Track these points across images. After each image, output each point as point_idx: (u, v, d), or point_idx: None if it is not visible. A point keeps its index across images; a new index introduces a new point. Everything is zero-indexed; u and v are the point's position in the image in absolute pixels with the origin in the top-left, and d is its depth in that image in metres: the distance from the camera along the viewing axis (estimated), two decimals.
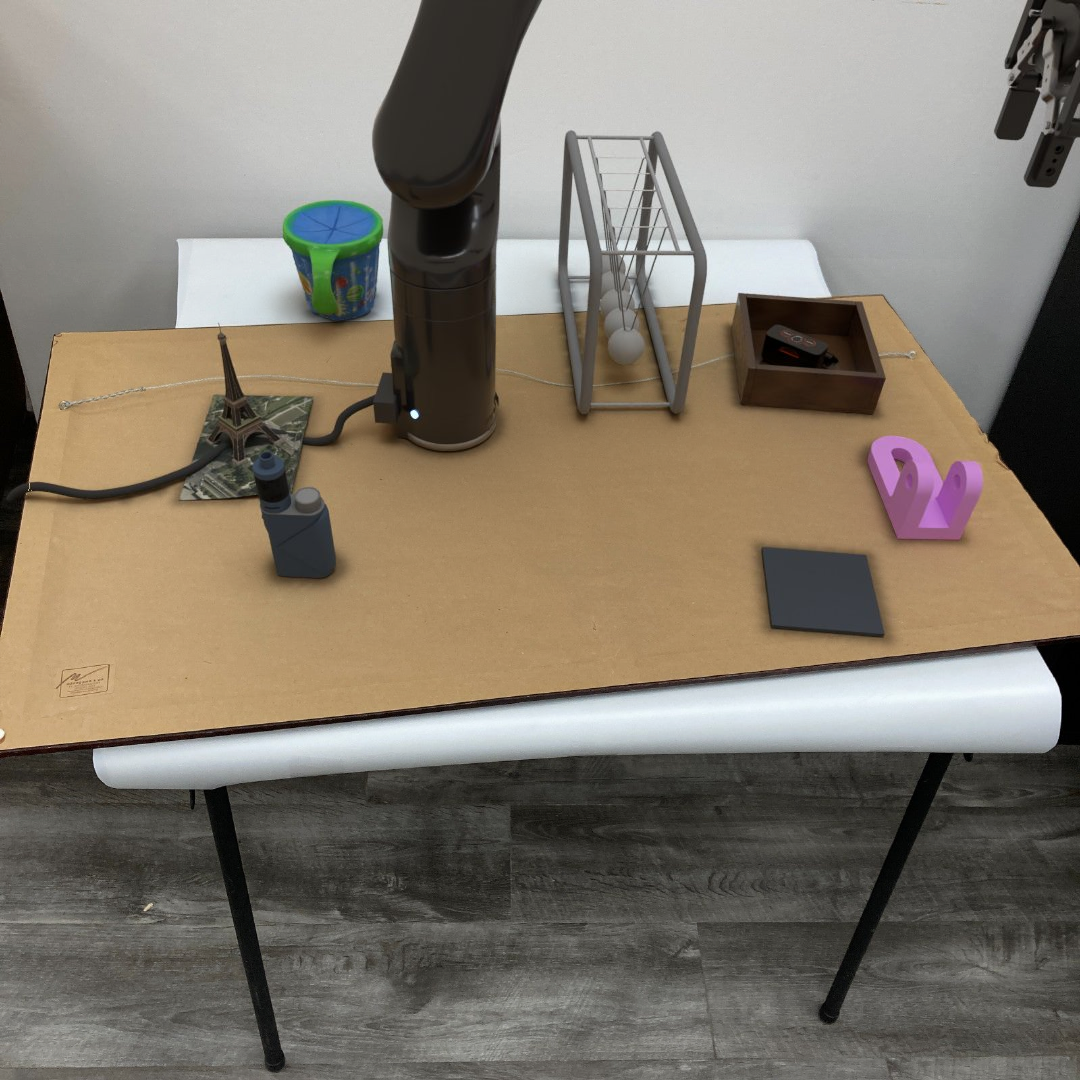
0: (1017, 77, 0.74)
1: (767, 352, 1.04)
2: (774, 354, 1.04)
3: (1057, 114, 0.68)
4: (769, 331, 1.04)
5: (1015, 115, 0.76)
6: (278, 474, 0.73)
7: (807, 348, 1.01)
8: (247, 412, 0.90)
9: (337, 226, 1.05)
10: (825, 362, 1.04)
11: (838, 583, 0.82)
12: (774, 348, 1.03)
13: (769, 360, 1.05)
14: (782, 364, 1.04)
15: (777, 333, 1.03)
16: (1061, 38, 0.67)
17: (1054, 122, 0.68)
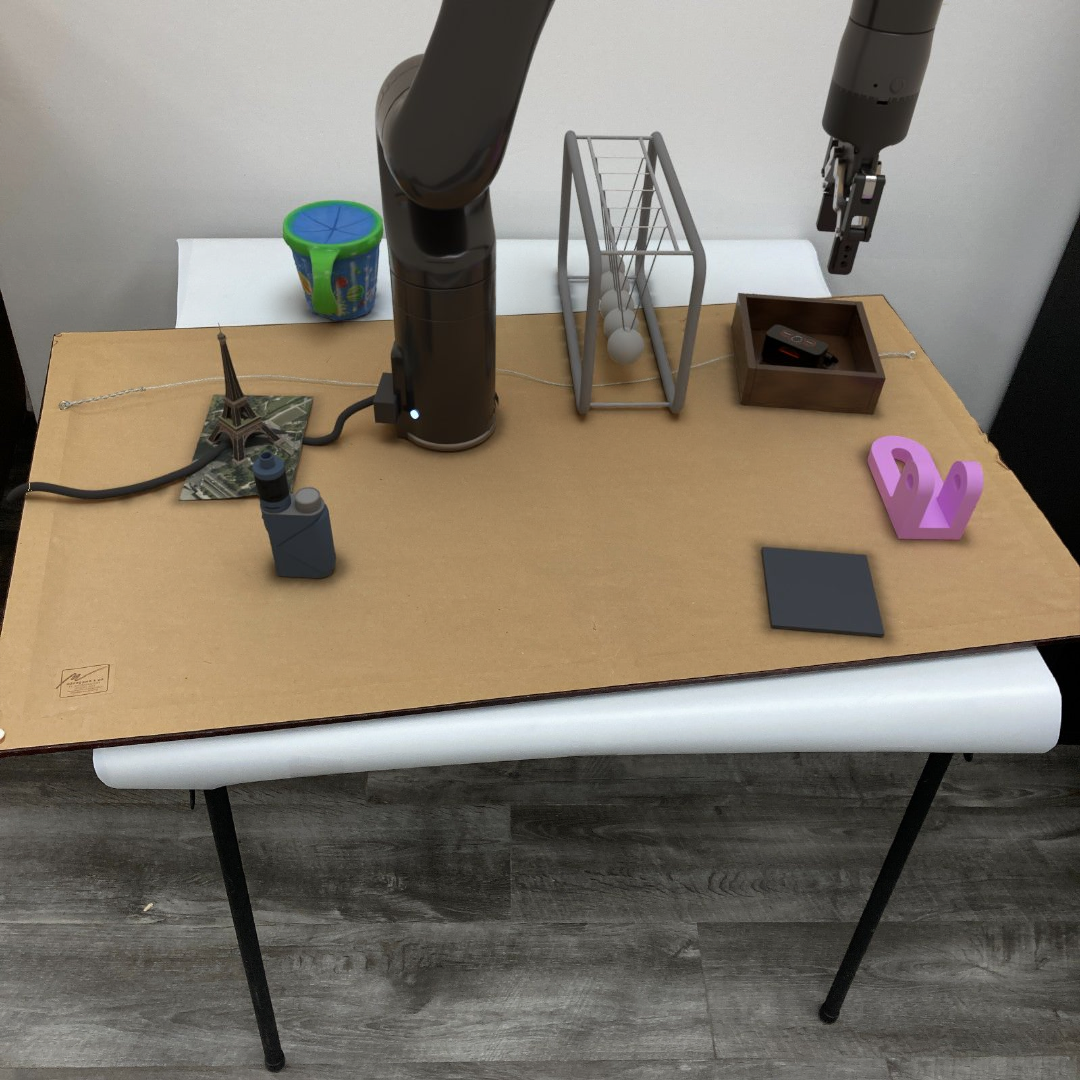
0: (827, 186, 0.95)
1: (767, 352, 1.04)
2: (774, 354, 1.04)
3: None
4: (769, 331, 1.04)
5: (830, 213, 0.97)
6: (278, 474, 0.73)
7: (807, 348, 1.01)
8: (247, 412, 0.90)
9: (337, 226, 1.05)
10: (825, 362, 1.04)
11: (838, 583, 0.82)
12: (774, 348, 1.03)
13: (769, 360, 1.05)
14: (782, 364, 1.04)
15: (777, 333, 1.03)
16: (844, 165, 0.88)
17: (841, 228, 0.88)
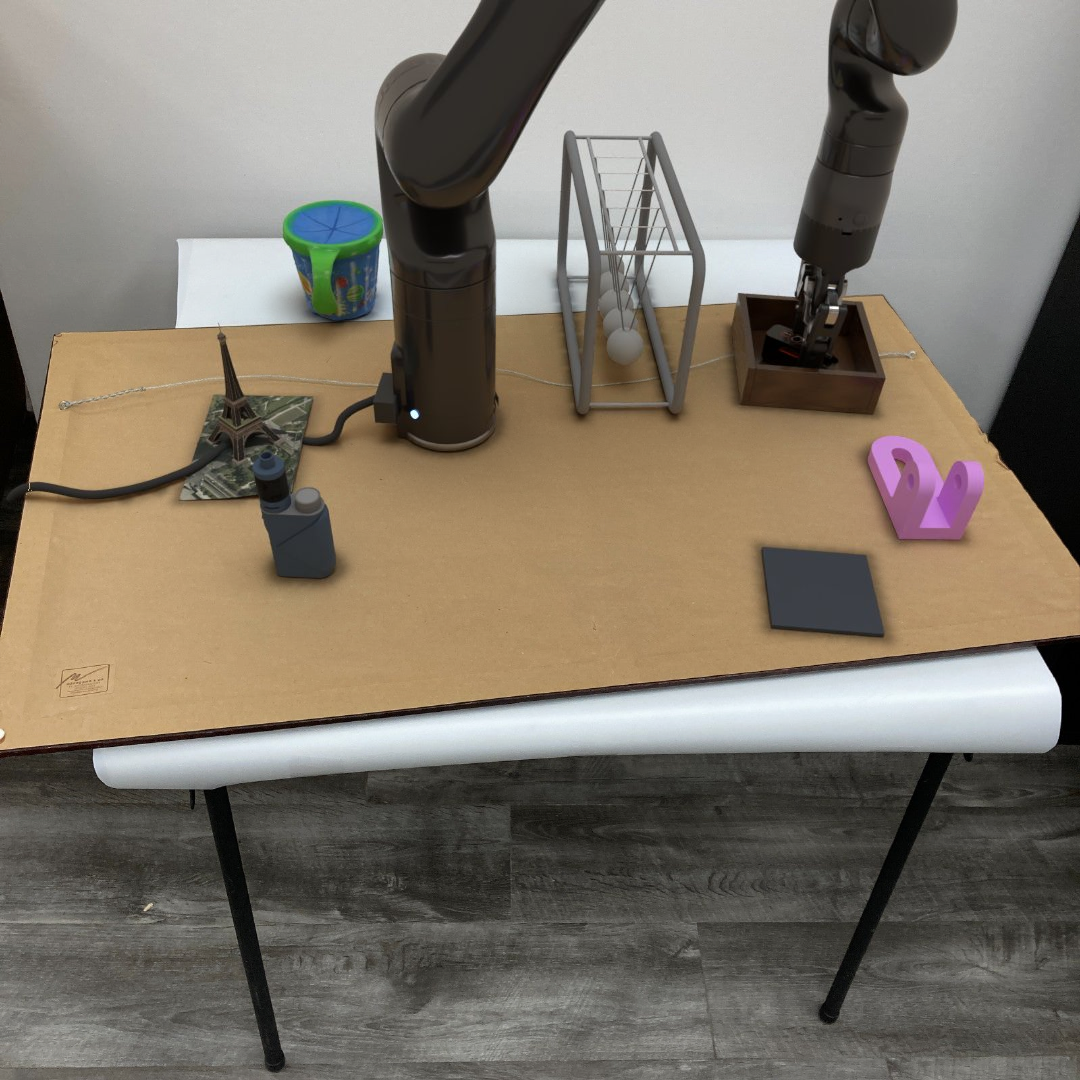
0: (799, 306, 1.02)
1: (767, 352, 1.04)
2: (774, 354, 1.04)
3: (809, 336, 0.98)
4: (769, 331, 1.04)
5: (802, 332, 1.04)
6: (278, 474, 0.73)
7: None
8: (247, 412, 0.90)
9: (337, 226, 1.05)
10: (825, 362, 1.04)
11: (838, 583, 0.82)
12: (774, 348, 1.03)
13: (769, 360, 1.05)
14: (782, 364, 1.04)
15: (777, 333, 1.03)
16: (814, 283, 0.96)
17: (807, 339, 0.98)
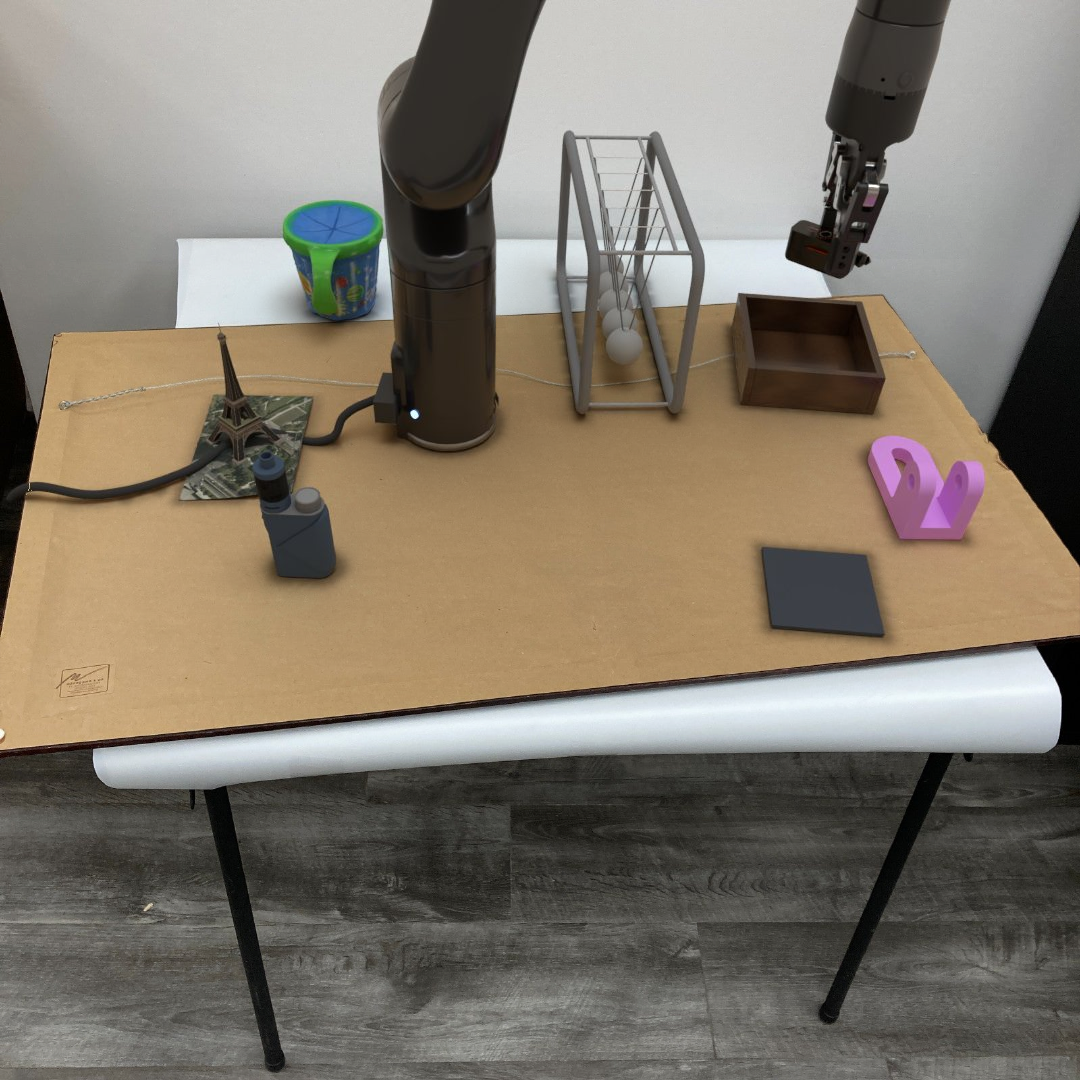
0: (829, 197, 0.91)
1: (791, 251, 0.93)
2: (800, 252, 0.93)
3: (842, 225, 0.87)
4: (794, 226, 0.92)
5: (831, 228, 0.93)
6: (278, 474, 0.73)
7: None
8: (247, 412, 0.90)
9: (337, 226, 1.05)
10: (856, 262, 0.93)
11: (838, 583, 0.82)
12: (800, 245, 0.92)
13: (794, 260, 0.93)
14: (809, 263, 0.93)
15: (804, 228, 0.92)
16: (848, 163, 0.85)
17: (839, 229, 0.87)
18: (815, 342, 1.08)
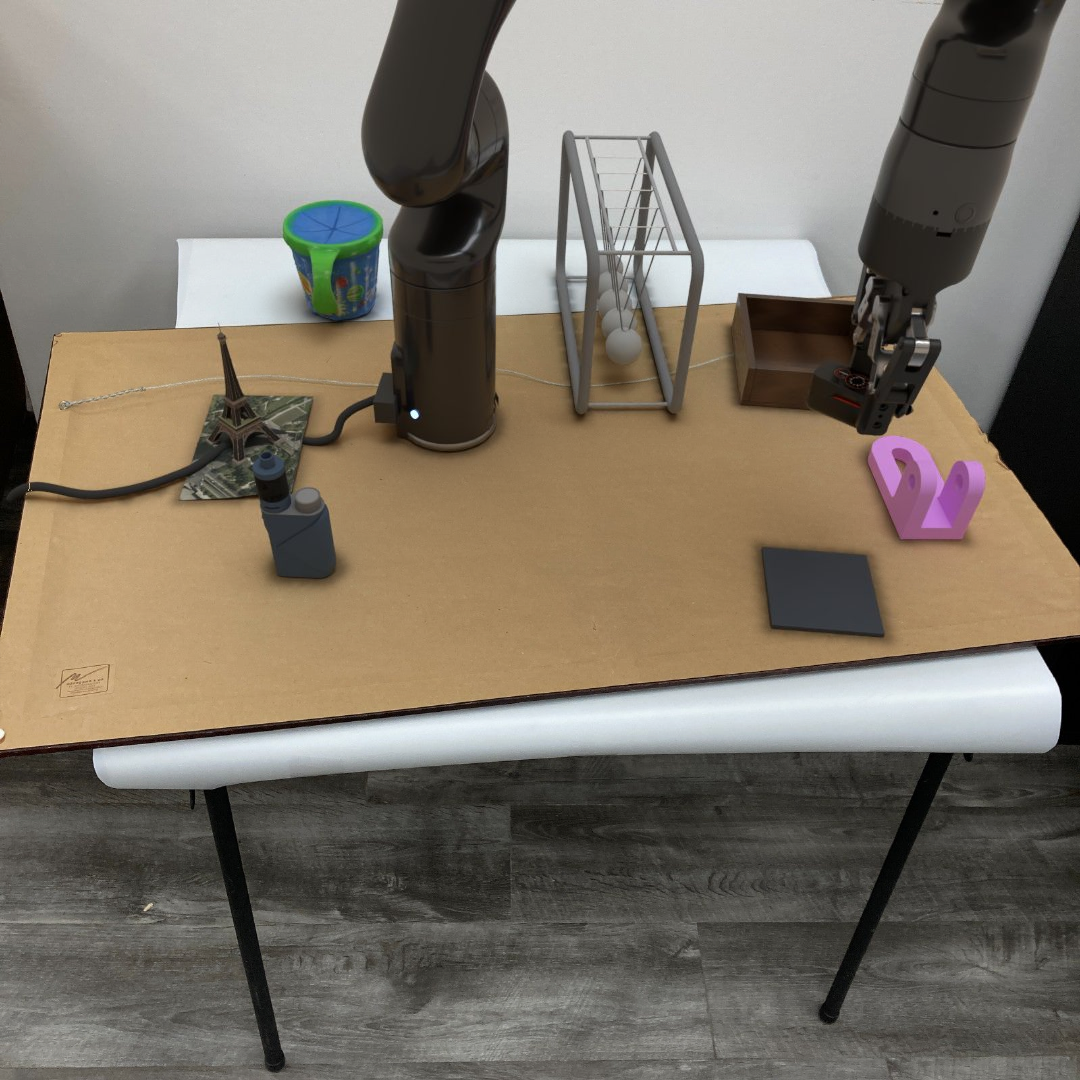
0: (861, 335, 0.73)
1: (814, 399, 0.75)
2: (825, 402, 0.74)
3: (879, 380, 0.69)
4: (818, 370, 0.74)
5: (863, 370, 0.75)
6: (278, 474, 0.73)
7: None
8: (247, 412, 0.90)
9: (337, 226, 1.05)
10: (896, 412, 0.75)
11: (838, 583, 0.82)
12: (825, 394, 0.74)
13: (817, 410, 0.75)
14: (836, 416, 0.74)
15: (830, 373, 0.74)
16: (888, 306, 0.66)
17: (876, 385, 0.69)
18: (815, 342, 1.08)
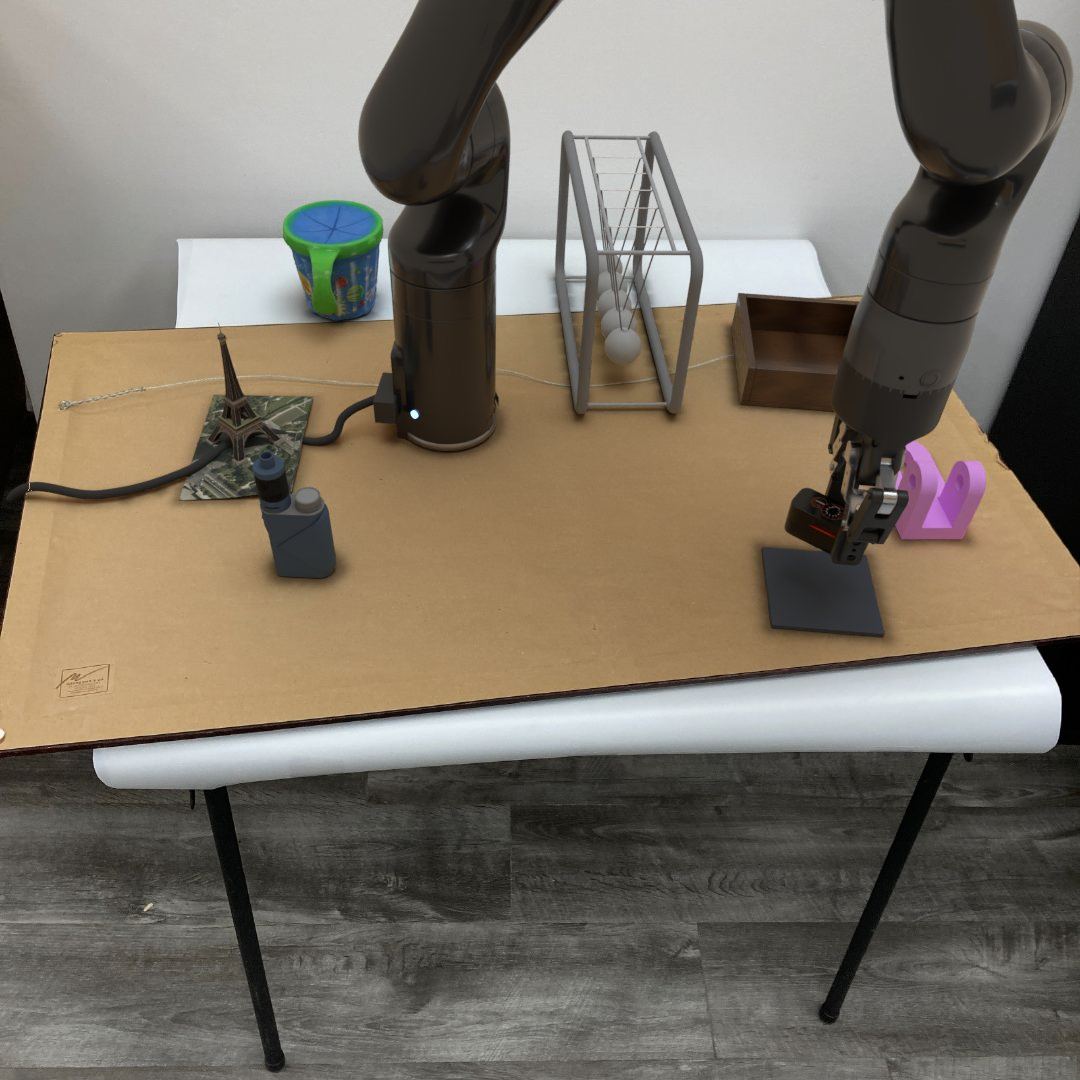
0: (836, 468, 0.76)
1: (792, 526, 0.78)
2: (802, 530, 0.77)
3: (851, 518, 0.71)
4: (795, 499, 0.77)
5: (839, 498, 0.78)
6: (278, 474, 0.73)
7: None
8: (247, 412, 0.90)
9: (337, 226, 1.05)
10: None
11: (838, 583, 0.82)
12: (802, 522, 0.77)
13: (795, 535, 0.78)
14: (813, 543, 0.77)
15: (807, 502, 0.77)
16: (859, 452, 0.69)
17: (848, 523, 0.71)
18: (815, 342, 1.08)
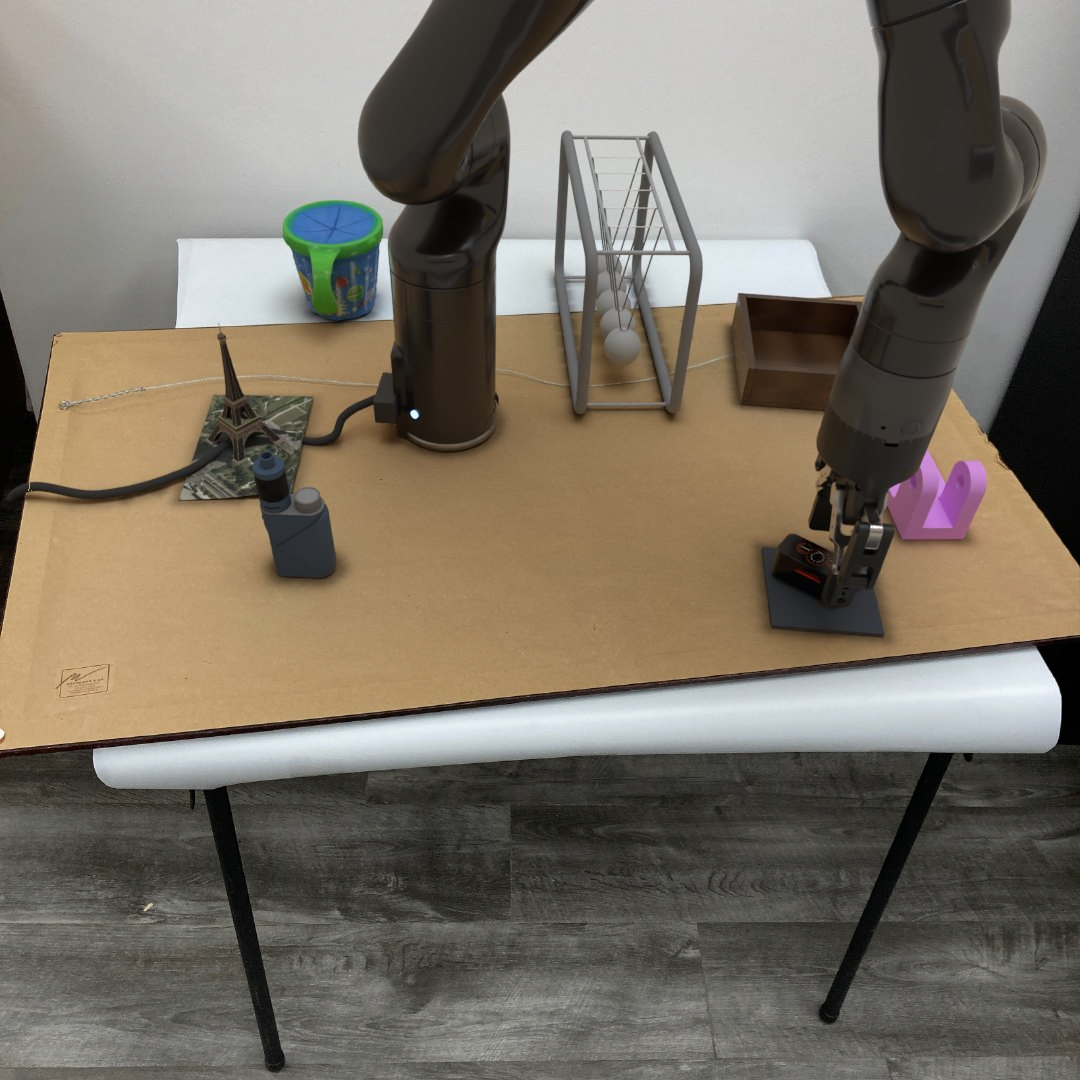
0: (821, 489, 0.79)
1: (779, 570, 0.81)
2: (789, 574, 0.81)
3: (841, 560, 0.72)
4: (781, 544, 0.80)
5: (825, 513, 0.81)
6: (278, 474, 0.73)
7: None
8: (247, 412, 0.90)
9: (337, 226, 1.05)
10: None
11: None
12: (788, 567, 0.80)
13: (782, 579, 0.81)
14: (799, 586, 0.81)
15: (793, 548, 0.80)
16: (843, 494, 0.72)
17: (838, 568, 0.72)
18: (815, 342, 1.08)
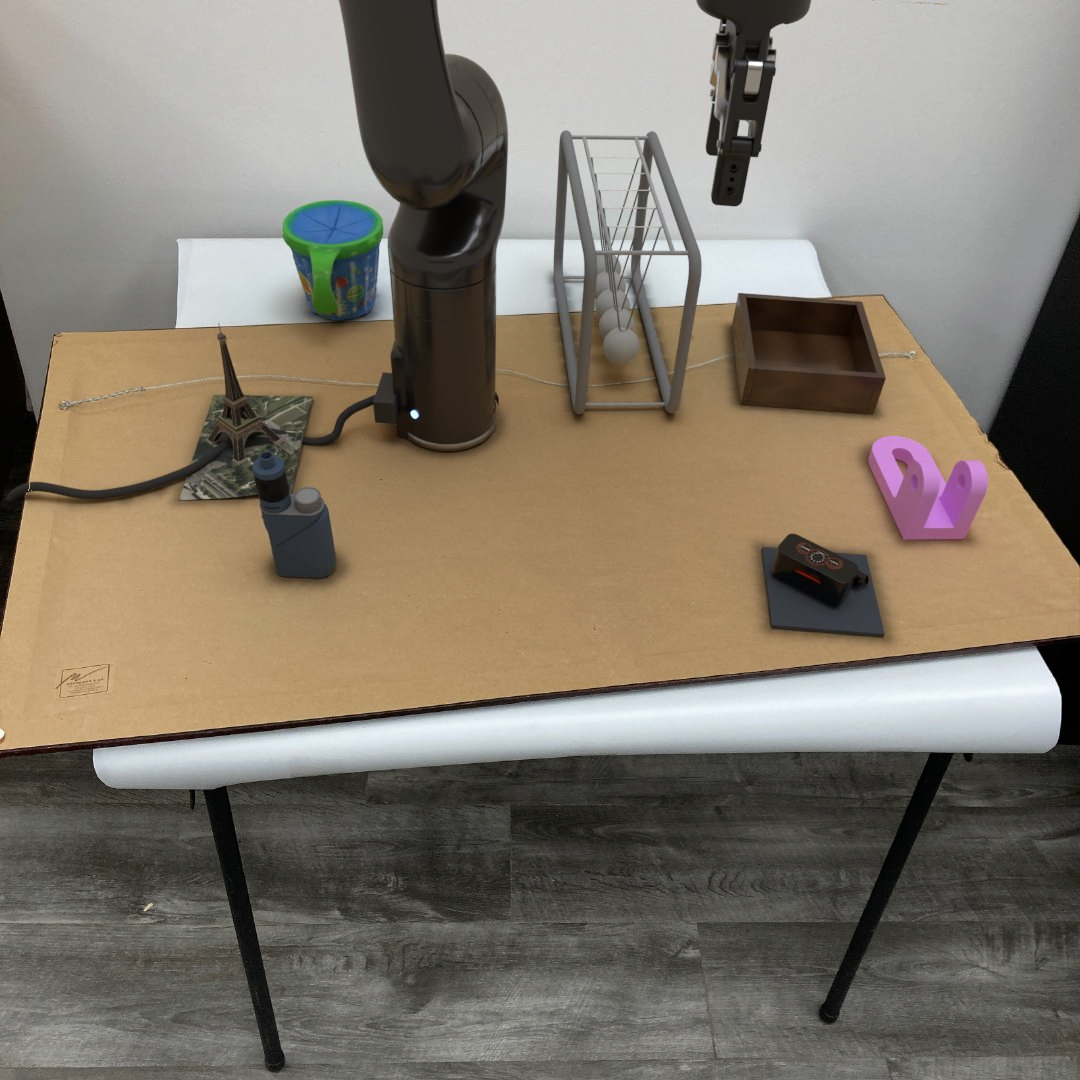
0: (714, 93, 0.73)
1: (779, 570, 0.81)
2: (789, 574, 0.81)
3: None
4: (781, 544, 0.80)
5: None
6: (278, 474, 0.73)
7: (831, 572, 0.78)
8: (247, 412, 0.90)
9: (337, 226, 1.05)
10: (854, 583, 0.81)
11: None
12: (788, 567, 0.80)
13: (782, 579, 0.81)
14: (799, 586, 0.81)
15: (793, 548, 0.80)
16: (727, 54, 0.65)
17: None
18: (815, 342, 1.08)
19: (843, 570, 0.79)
